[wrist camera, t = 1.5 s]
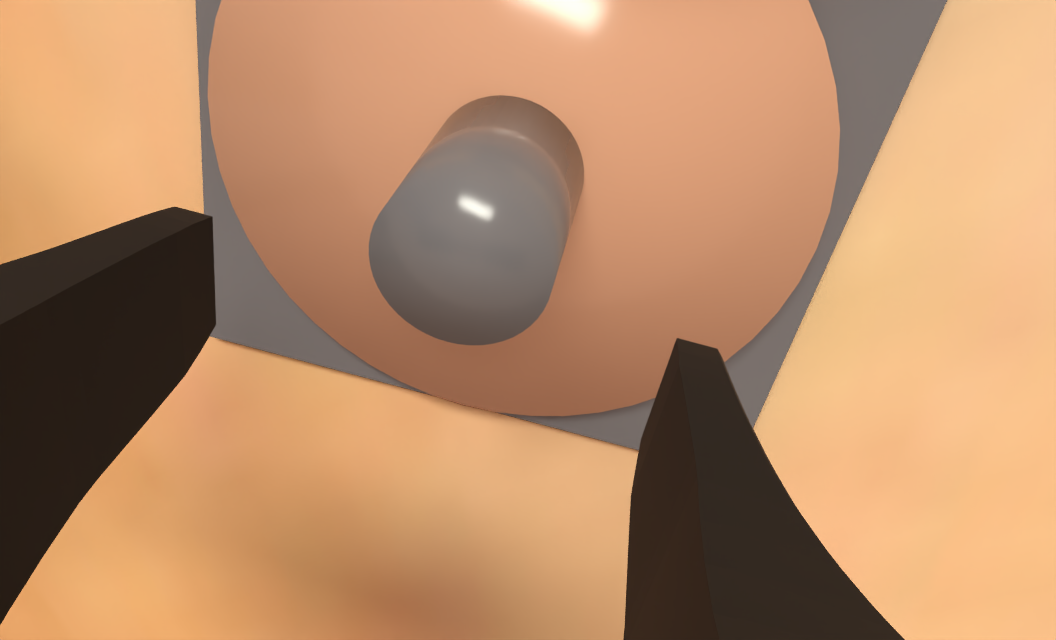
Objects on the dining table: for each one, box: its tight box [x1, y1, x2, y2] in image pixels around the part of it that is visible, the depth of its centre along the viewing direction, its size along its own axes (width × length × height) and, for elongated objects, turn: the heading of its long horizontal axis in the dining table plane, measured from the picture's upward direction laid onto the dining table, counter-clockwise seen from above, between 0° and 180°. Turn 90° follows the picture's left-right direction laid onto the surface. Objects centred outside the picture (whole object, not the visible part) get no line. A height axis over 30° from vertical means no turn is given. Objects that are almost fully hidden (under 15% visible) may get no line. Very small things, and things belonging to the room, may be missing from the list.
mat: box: [196, 0, 947, 450], centre depth 19 cm, size 14×14×1 cm
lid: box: [208, 0, 840, 416], centre depth 17 cm, size 13×13×5 cm
